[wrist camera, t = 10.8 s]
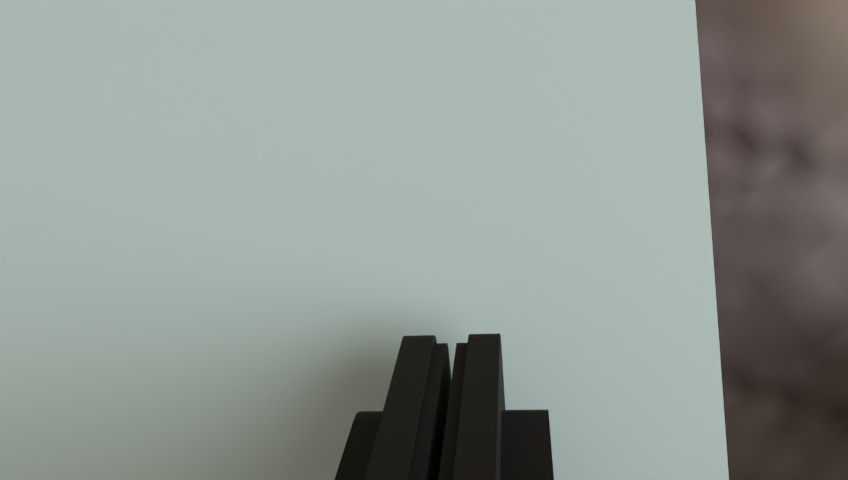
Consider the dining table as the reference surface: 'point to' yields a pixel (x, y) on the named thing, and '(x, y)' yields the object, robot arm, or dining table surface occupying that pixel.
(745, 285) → the dining table surface
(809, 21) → the dining table surface
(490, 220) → the lid
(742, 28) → the dining table surface
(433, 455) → the robot arm
